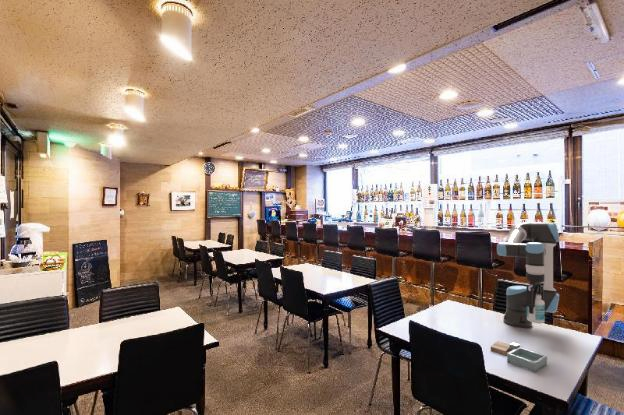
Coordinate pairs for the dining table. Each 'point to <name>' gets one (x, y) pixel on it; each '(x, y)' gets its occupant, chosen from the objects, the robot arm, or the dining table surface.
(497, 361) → the dining table surface
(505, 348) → the flat wooden block
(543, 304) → the pill bottle
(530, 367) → the tray
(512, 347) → the bench dog
